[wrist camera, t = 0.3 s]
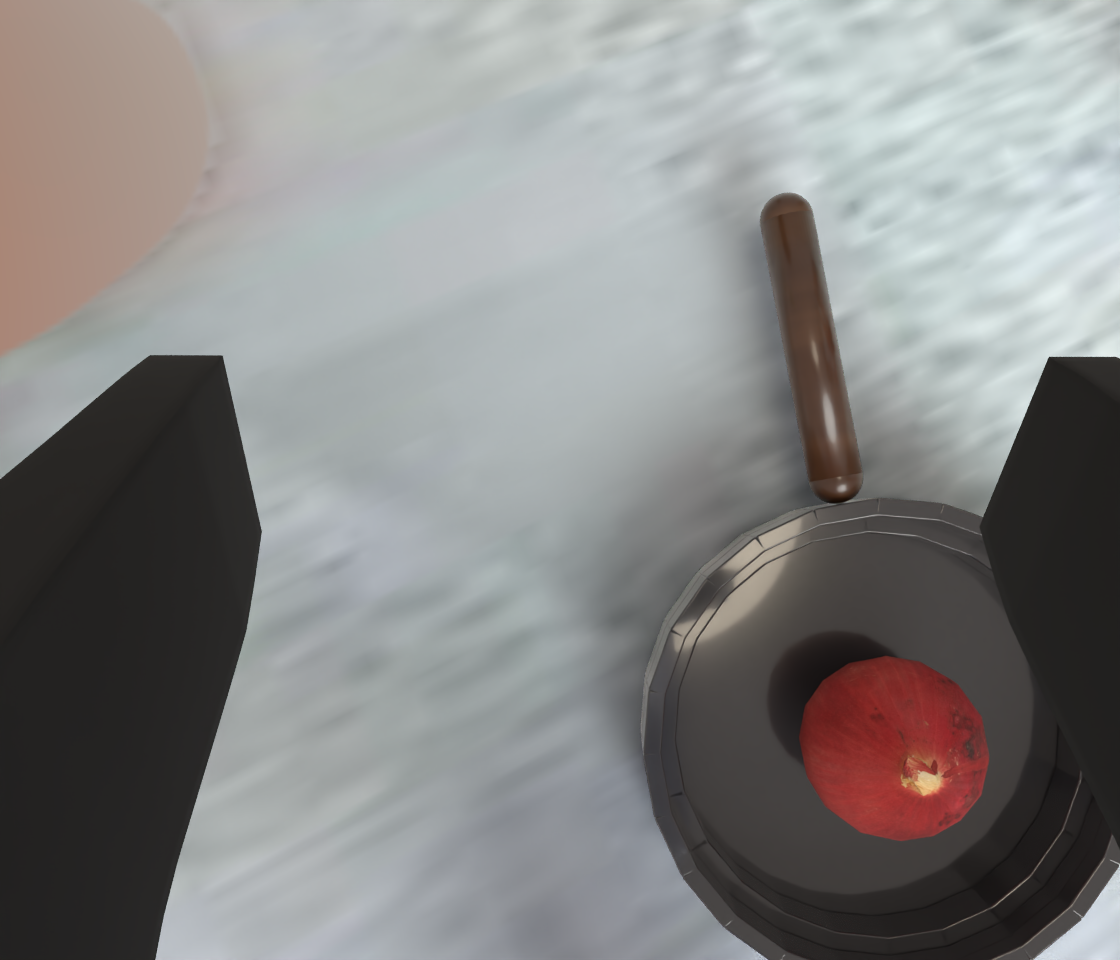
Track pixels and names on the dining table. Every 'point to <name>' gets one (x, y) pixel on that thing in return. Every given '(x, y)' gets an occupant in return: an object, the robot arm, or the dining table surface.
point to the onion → (894, 748)
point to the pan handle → (811, 348)
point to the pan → (778, 767)
